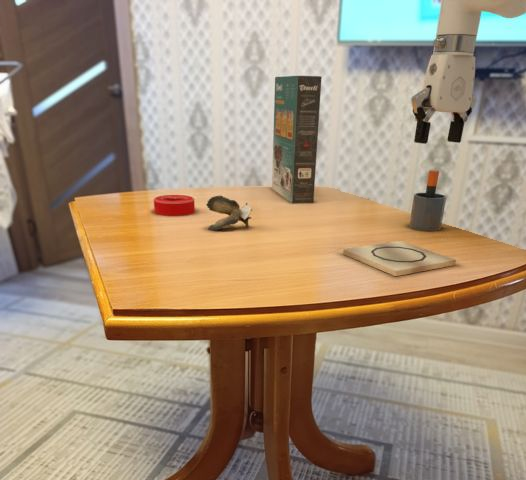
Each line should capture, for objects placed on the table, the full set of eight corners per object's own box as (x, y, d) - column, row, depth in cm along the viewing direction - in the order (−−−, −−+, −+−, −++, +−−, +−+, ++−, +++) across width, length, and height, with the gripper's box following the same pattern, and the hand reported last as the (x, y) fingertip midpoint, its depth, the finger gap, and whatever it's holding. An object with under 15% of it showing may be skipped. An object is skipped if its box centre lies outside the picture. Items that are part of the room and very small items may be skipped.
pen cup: (424, 222, 118) (429, 191, 115) (447, 229, 113) (453, 197, 110) (402, 225, 115) (407, 193, 112) (424, 232, 110) (430, 199, 107)
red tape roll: (160, 217, 118) (159, 203, 116) (150, 208, 125) (149, 195, 124) (200, 214, 121) (199, 200, 120) (188, 206, 129) (187, 193, 128)
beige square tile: (399, 245, 100) (400, 240, 100) (455, 265, 89) (456, 259, 89) (342, 254, 94) (343, 248, 93) (395, 276, 83) (396, 270, 83)
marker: (425, 223, 115) (434, 170, 110) (432, 225, 114) (441, 171, 108) (418, 224, 114) (427, 170, 109) (425, 226, 113) (434, 171, 108)
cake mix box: (313, 202, 137) (321, 76, 123) (291, 203, 136) (297, 75, 122) (290, 188, 156) (295, 77, 142) (271, 188, 155) (275, 76, 141)
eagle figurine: (241, 216, 115) (203, 210, 112) (252, 192, 110) (211, 185, 106) (246, 241, 111) (207, 236, 108) (257, 218, 106) (216, 212, 102)
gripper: (436, 43, 92) (420, 145, 100) (499, 49, 100) (480, 143, 107) (407, 45, 97) (394, 141, 105) (469, 51, 105) (452, 140, 113)
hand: (437, 142), depth 106 cm, fingers open, 9 cm apart
